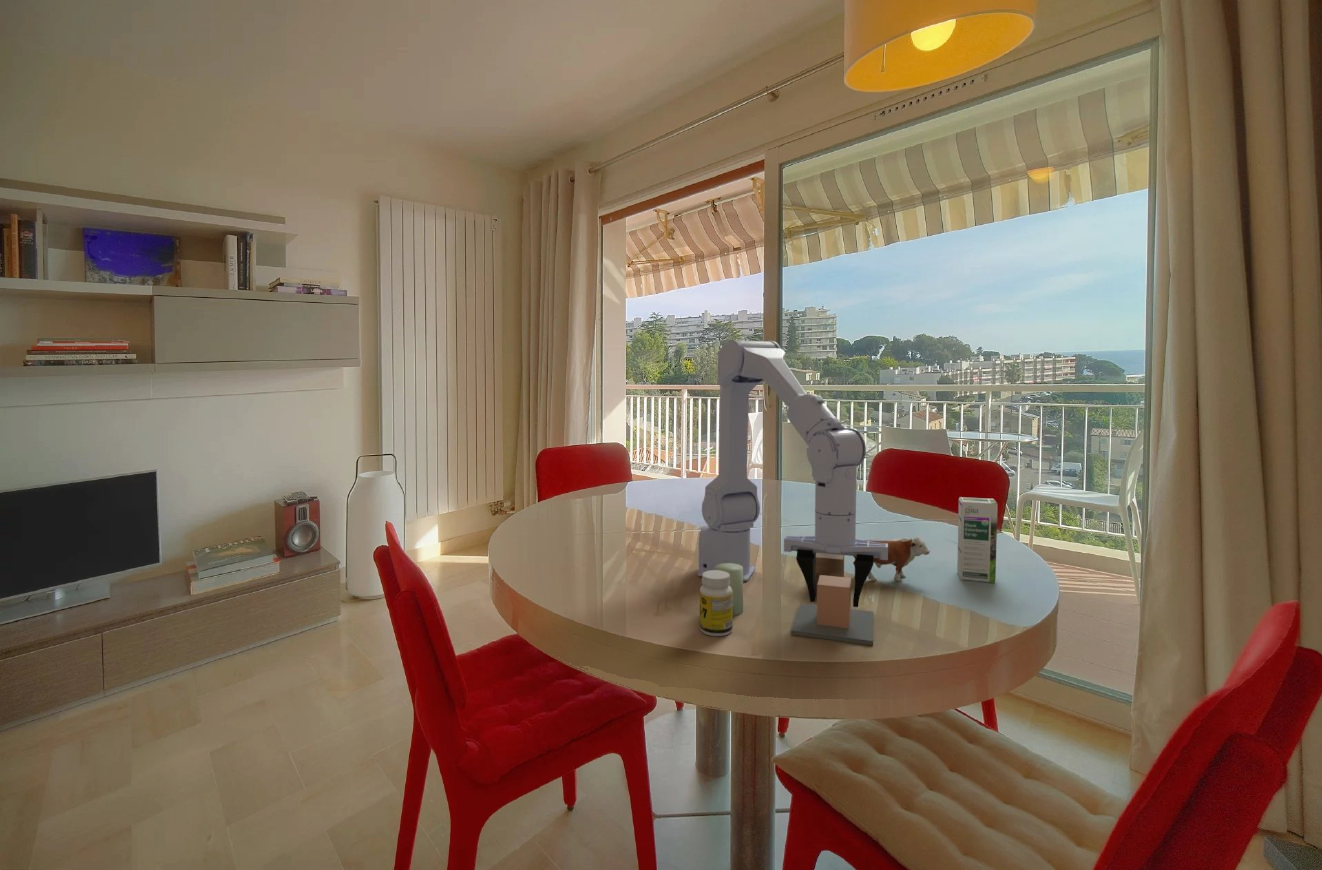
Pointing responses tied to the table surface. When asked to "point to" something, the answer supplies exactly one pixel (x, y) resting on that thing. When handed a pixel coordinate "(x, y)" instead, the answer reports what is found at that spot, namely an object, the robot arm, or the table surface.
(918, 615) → the table surface
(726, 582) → the supplement bottle
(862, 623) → the slate mat
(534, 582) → the table surface
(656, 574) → the table surface
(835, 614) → the terracotta brick
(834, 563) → the walnut block
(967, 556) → the syrup box
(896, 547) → the bull figurine
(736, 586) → the sage cylinder
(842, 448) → the robot arm
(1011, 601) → the table surface
